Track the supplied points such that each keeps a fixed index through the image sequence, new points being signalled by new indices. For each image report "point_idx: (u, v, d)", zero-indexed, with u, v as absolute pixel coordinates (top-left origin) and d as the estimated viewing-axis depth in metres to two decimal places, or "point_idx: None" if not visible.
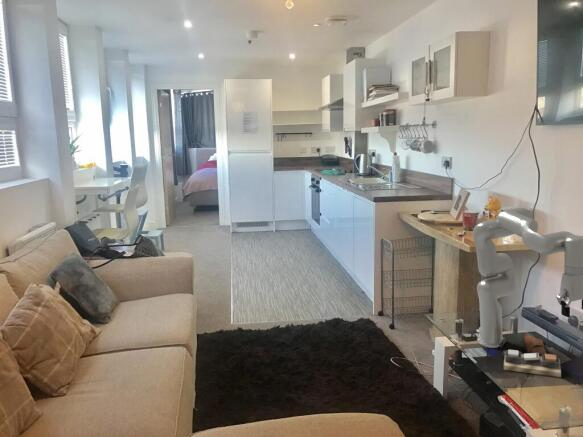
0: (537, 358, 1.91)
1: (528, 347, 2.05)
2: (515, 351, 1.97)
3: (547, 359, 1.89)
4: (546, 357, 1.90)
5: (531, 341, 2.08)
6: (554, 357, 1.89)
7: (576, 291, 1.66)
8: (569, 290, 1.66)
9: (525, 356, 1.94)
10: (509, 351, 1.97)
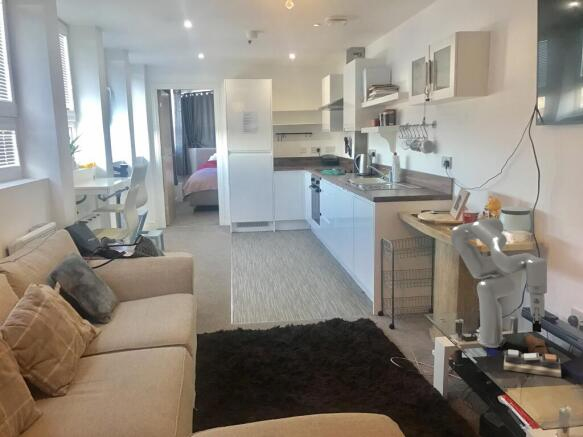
0: (537, 358, 1.91)
1: (530, 347, 2.04)
2: (515, 351, 1.97)
3: (547, 359, 1.89)
4: (546, 357, 1.90)
5: (533, 341, 2.08)
6: (554, 357, 1.89)
7: None
8: None
9: (525, 356, 1.94)
10: (509, 351, 1.97)
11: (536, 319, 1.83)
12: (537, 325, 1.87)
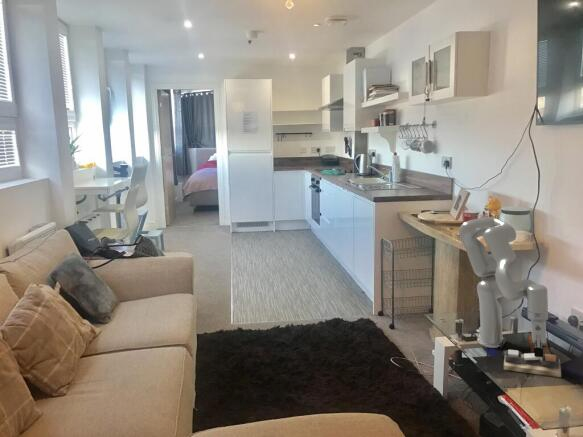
0: (537, 358, 1.91)
1: (532, 347, 2.04)
2: (515, 351, 1.97)
3: (547, 359, 1.89)
4: (546, 357, 1.90)
5: None
6: (554, 357, 1.89)
7: None
8: None
9: (525, 356, 1.94)
10: (509, 351, 1.97)
11: (538, 346, 1.86)
12: (539, 350, 1.90)
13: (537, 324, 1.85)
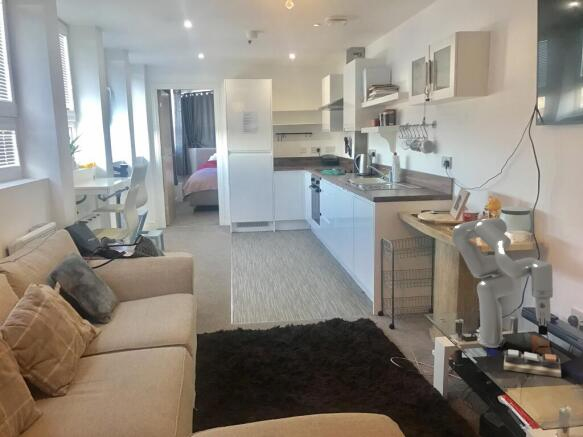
0: (537, 360, 1.91)
1: (533, 347, 2.04)
2: (515, 351, 1.97)
3: (547, 359, 1.89)
4: (546, 357, 1.90)
5: (536, 341, 2.07)
6: (554, 357, 1.89)
7: None
8: None
9: (525, 355, 1.94)
10: (509, 351, 1.97)
11: (542, 324, 1.84)
12: (543, 328, 1.87)
13: (541, 301, 1.83)
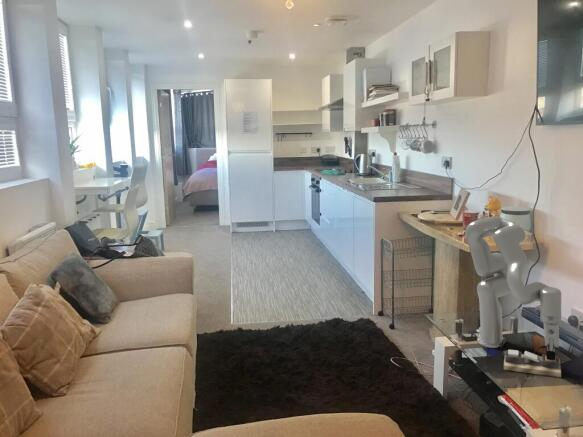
0: (537, 361, 1.91)
1: (535, 347, 2.03)
2: (515, 351, 1.97)
3: None
4: (546, 359, 1.90)
5: (538, 341, 2.07)
6: None
7: None
8: None
9: (526, 354, 1.94)
10: (509, 351, 1.97)
11: (550, 350, 1.85)
12: (551, 353, 1.88)
13: (550, 327, 1.83)
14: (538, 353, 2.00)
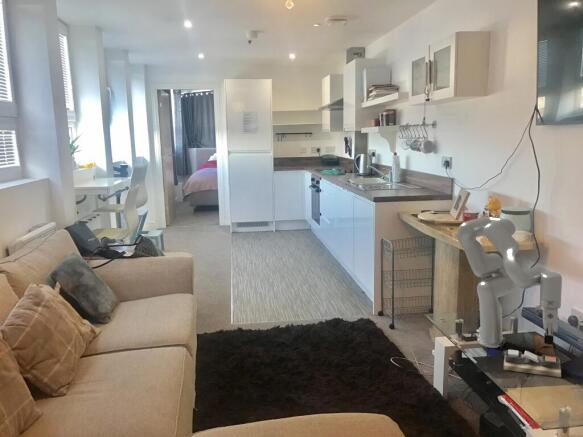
0: (537, 361, 1.91)
1: (536, 348, 2.03)
2: (515, 351, 1.97)
3: None
4: (546, 359, 1.90)
5: (540, 342, 2.07)
6: (554, 359, 1.89)
7: None
8: None
9: (526, 353, 1.94)
10: (509, 351, 1.97)
11: (549, 334, 1.84)
12: (549, 337, 1.88)
13: (549, 312, 1.83)
14: (539, 353, 2.00)
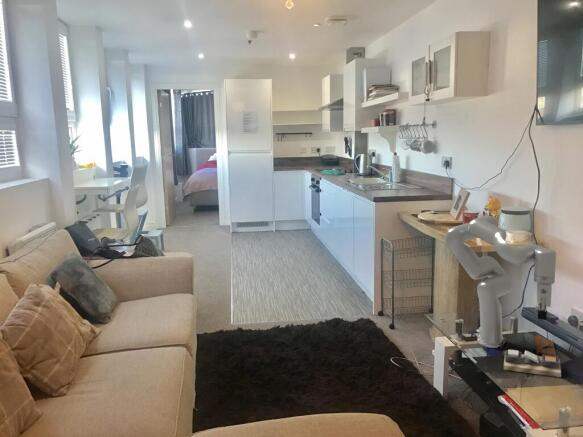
0: (537, 361, 1.91)
1: (538, 348, 2.03)
2: (515, 351, 1.97)
3: None
4: (546, 359, 1.90)
5: (541, 342, 2.06)
6: (554, 359, 1.89)
7: None
8: None
9: (526, 353, 1.94)
10: (509, 351, 1.97)
11: (542, 309, 1.87)
12: (543, 313, 1.91)
13: (543, 287, 1.85)
14: (541, 353, 1.99)
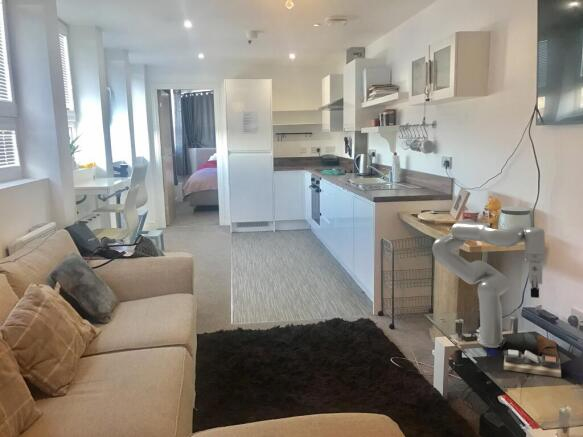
0: (537, 361, 1.91)
1: (539, 348, 2.03)
2: (515, 351, 1.97)
3: None
4: (546, 359, 1.90)
5: (543, 342, 2.06)
6: (554, 359, 1.89)
7: None
8: None
9: (527, 353, 1.94)
10: (509, 351, 1.97)
11: (534, 286, 1.93)
12: (535, 291, 1.97)
13: (534, 265, 1.92)
14: (543, 354, 1.99)
